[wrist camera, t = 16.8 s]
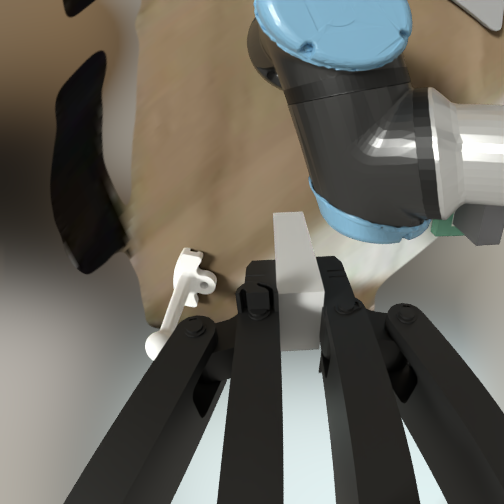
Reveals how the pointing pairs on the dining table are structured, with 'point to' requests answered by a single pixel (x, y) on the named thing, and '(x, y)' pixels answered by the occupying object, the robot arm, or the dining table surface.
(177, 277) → the joystick
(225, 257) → the dining table surface
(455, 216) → the block
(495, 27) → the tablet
